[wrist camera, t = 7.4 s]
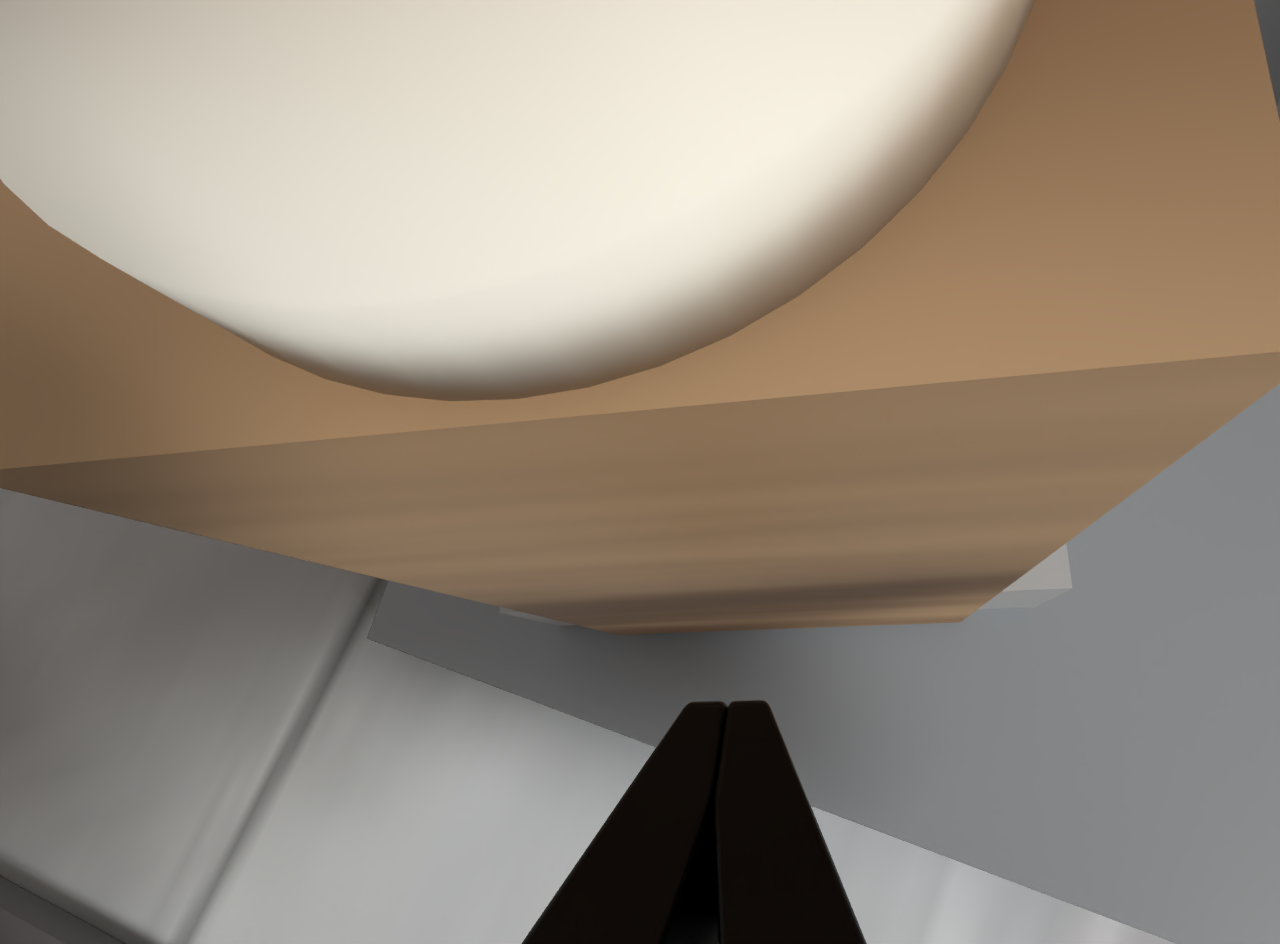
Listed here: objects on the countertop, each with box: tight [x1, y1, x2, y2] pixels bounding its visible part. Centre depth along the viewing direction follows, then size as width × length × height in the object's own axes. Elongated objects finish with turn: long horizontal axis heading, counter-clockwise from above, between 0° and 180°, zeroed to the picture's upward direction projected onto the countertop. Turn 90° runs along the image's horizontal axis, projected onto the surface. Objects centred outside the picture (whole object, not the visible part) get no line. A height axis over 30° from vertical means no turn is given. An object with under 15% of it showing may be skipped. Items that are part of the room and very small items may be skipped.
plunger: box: [0, 0, 1280, 635], centre depth 10 cm, size 5×6×14 cm
